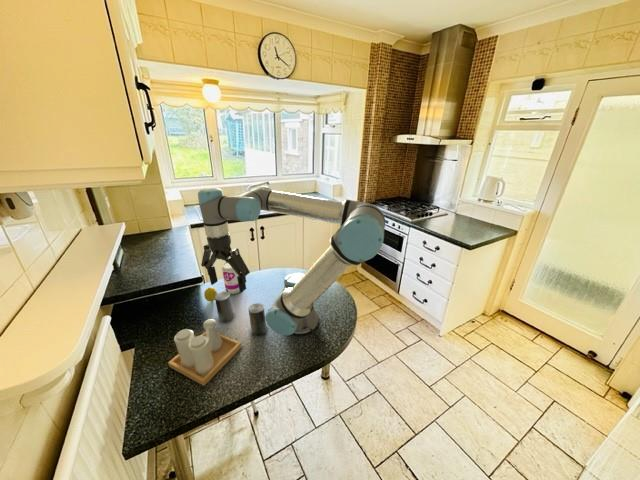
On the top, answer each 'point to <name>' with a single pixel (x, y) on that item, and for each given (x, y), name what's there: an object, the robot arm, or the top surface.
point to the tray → (219, 360)
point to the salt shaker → (212, 335)
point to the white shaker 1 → (184, 347)
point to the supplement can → (230, 279)
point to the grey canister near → (257, 319)
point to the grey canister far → (224, 307)
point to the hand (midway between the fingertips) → (228, 286)
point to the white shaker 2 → (201, 355)
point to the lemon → (210, 294)
